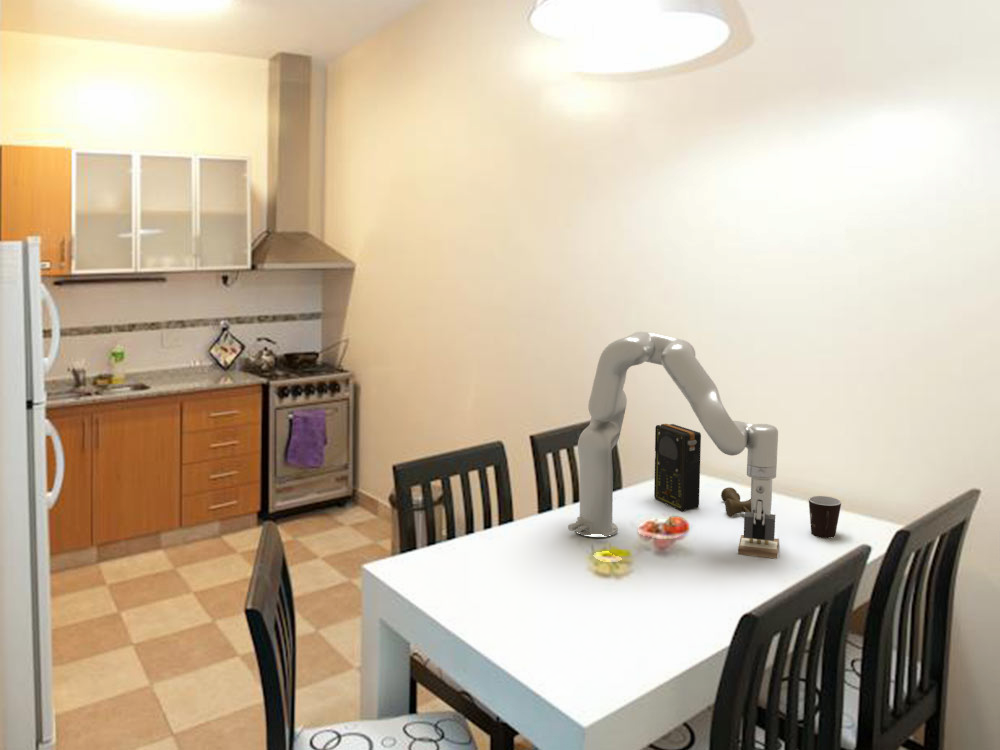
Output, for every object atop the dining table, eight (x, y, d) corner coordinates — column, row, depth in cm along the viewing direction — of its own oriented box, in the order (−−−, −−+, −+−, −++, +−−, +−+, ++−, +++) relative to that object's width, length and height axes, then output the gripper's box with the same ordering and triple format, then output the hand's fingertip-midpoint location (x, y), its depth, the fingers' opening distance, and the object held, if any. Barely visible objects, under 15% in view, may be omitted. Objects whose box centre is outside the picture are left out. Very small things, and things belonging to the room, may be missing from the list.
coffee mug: (812, 526, 233) (814, 493, 231) (843, 533, 228) (845, 499, 226) (798, 538, 224) (800, 504, 223) (830, 545, 219) (832, 510, 217)
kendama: (743, 502, 258) (765, 522, 238) (713, 504, 257) (733, 523, 237) (743, 484, 257) (765, 502, 237) (713, 486, 256) (733, 504, 237)
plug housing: (773, 540, 213) (774, 519, 212) (743, 537, 216) (744, 516, 215) (774, 535, 217) (775, 514, 216) (744, 532, 219) (745, 511, 218)
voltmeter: (650, 498, 261) (652, 424, 257) (672, 495, 264) (673, 421, 260) (680, 513, 247) (682, 434, 243) (702, 508, 250) (704, 431, 246)
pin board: (777, 558, 210) (778, 540, 209) (737, 554, 213) (738, 536, 213) (778, 544, 220) (779, 526, 219) (740, 539, 224) (741, 522, 223)
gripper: (775, 480, 204) (772, 548, 207) (777, 463, 220) (774, 527, 223) (744, 477, 207) (742, 544, 210) (749, 461, 222) (746, 524, 225)
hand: (758, 534), depth 216 cm, fingers closed on plug housing, 3 cm apart
